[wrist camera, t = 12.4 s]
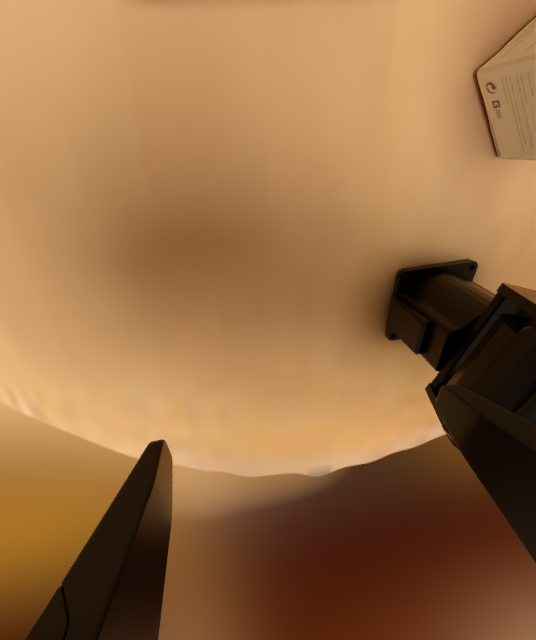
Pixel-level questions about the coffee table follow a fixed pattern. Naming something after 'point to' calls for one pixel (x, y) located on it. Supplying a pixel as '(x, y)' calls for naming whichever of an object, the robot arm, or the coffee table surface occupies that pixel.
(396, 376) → the coffee table surface
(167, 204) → the coffee table surface
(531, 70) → the skincare box
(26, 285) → the coffee table surface
